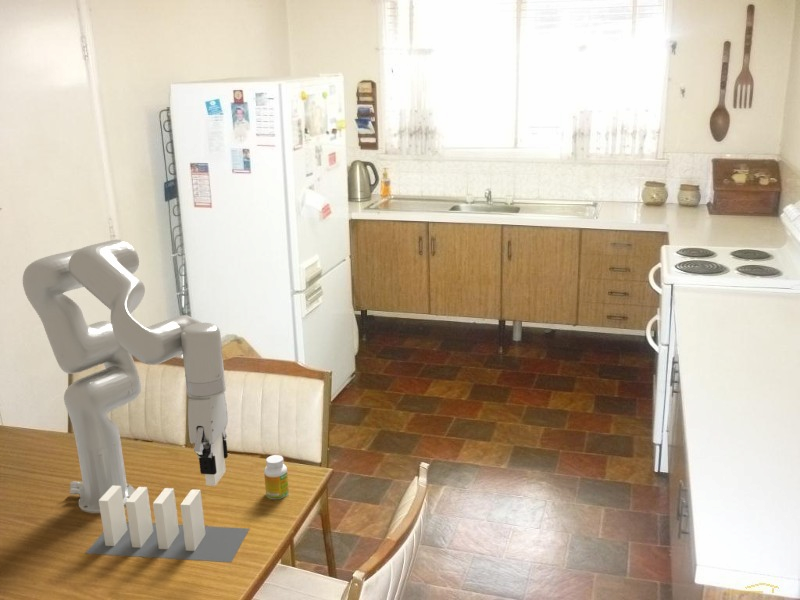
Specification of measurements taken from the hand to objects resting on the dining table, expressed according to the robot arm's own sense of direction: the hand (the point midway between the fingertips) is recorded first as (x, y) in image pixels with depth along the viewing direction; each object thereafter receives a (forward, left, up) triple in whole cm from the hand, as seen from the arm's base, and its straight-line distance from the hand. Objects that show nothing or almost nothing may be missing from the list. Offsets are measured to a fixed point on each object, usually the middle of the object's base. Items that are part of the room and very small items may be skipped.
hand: (214, 464), depth 157 cm
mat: (-12, 0, -20) cm, 23 cm away
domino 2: (-18, 0, -19) cm, 26 cm away
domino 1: (-24, 0, -19) cm, 31 cm away
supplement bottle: (+6, +21, -20) cm, 29 cm away
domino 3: (-12, 0, -19) cm, 22 cm away
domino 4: (-6, 0, -19) cm, 20 cm away
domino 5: (0, 0, -3) cm, 3 cm away
